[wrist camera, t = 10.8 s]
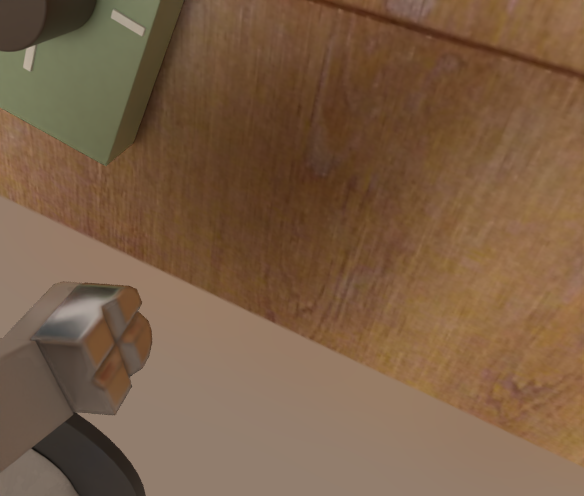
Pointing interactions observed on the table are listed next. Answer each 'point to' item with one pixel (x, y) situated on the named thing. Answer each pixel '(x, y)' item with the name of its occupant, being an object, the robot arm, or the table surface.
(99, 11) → the panel
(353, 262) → the table surface
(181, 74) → the table surface
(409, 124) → the table surface
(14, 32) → the lock knob
